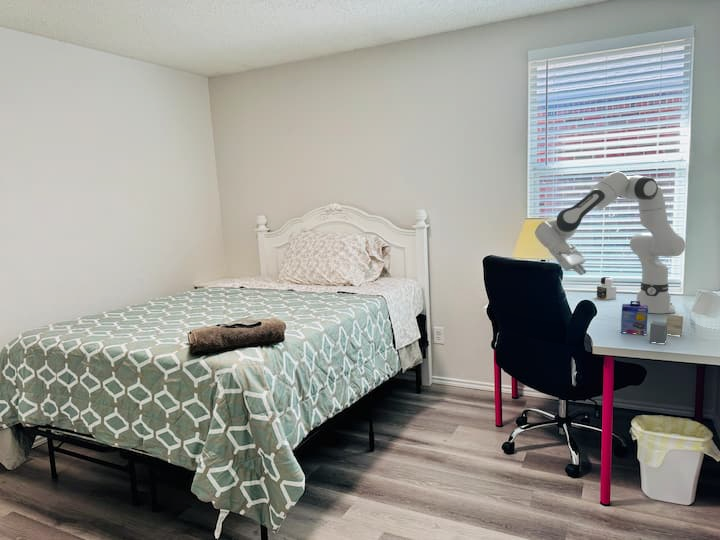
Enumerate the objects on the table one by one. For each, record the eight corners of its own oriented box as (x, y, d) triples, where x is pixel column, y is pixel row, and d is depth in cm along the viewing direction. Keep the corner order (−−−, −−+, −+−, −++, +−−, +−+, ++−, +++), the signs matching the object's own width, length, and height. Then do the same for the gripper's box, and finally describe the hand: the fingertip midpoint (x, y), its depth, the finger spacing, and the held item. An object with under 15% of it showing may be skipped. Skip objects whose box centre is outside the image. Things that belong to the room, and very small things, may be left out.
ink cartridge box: (620, 333, 216) (622, 301, 213) (620, 330, 220) (622, 298, 218) (646, 335, 211) (648, 302, 209) (646, 332, 216) (648, 299, 214)
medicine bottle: (596, 297, 285) (597, 277, 283) (606, 296, 287) (607, 276, 285) (606, 300, 278) (606, 279, 276) (616, 298, 280) (617, 277, 278)
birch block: (668, 332, 214) (669, 314, 213) (681, 334, 211) (683, 316, 210) (665, 335, 211) (666, 317, 209) (679, 337, 207) (680, 318, 206)
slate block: (652, 340, 205) (653, 321, 204) (666, 342, 202) (667, 322, 201) (649, 343, 202) (650, 323, 200) (663, 345, 198) (664, 325, 197)
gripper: (559, 249, 221) (581, 272, 217) (574, 244, 237) (596, 266, 232) (549, 258, 225) (570, 281, 220) (565, 253, 240) (585, 274, 235)
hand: (583, 273), depth 226 cm, fingers closed
